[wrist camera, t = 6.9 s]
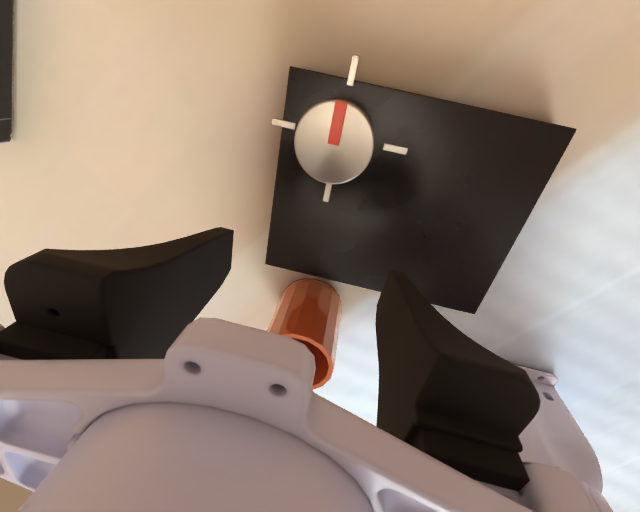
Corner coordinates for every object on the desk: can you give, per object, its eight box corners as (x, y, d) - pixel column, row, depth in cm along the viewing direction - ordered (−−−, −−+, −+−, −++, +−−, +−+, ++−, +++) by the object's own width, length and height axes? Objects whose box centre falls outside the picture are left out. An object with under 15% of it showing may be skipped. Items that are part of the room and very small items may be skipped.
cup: (347, 286, 26) (340, 345, 20) (334, 333, 29) (324, 398, 23) (286, 272, 26) (262, 326, 20) (278, 319, 29) (254, 380, 23)
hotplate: (563, 105, 18) (591, 107, 16) (465, 295, 25) (475, 316, 23) (291, 46, 19) (280, 39, 17) (266, 247, 26) (256, 263, 23)
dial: (363, 176, 19) (362, 193, 16) (301, 162, 20) (287, 176, 16) (381, 106, 18) (384, 109, 14) (312, 92, 18) (299, 91, 14)
